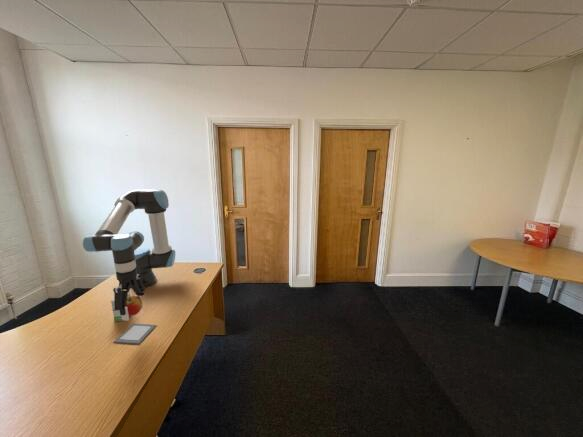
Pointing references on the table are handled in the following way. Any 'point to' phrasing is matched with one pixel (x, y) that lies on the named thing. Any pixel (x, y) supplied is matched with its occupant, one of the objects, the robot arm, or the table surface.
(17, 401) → the table surface
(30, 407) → the table surface
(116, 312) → the ink box
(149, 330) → the coaster
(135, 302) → the apple
